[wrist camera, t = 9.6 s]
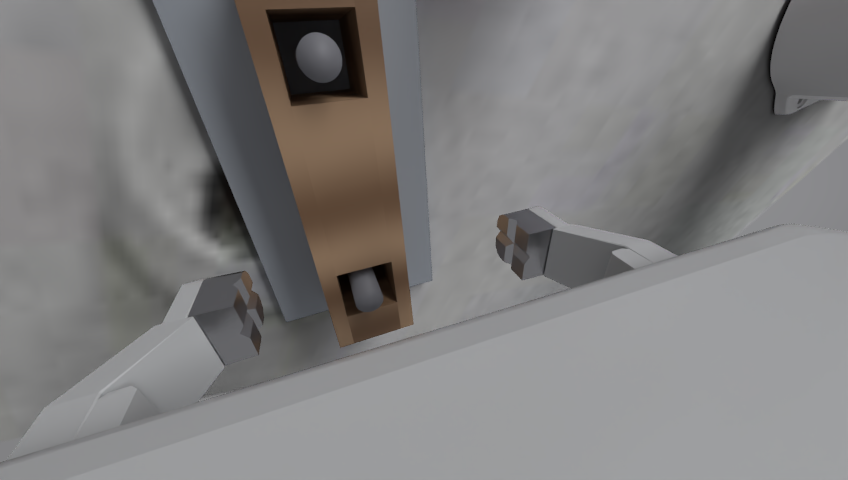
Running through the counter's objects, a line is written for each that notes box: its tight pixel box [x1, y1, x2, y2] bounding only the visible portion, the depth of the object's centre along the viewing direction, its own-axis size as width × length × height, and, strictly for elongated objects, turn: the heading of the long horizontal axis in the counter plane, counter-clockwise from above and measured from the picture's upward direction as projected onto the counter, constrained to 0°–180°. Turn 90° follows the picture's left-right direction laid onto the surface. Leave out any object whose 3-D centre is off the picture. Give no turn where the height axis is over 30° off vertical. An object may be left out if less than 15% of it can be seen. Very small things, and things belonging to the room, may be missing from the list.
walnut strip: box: [234, 0, 413, 348], centre depth 17 cm, size 20×5×5 cm, turn 5°
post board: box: [153, 0, 432, 322], centre depth 17 cm, size 12×22×7 cm, turn 5°
